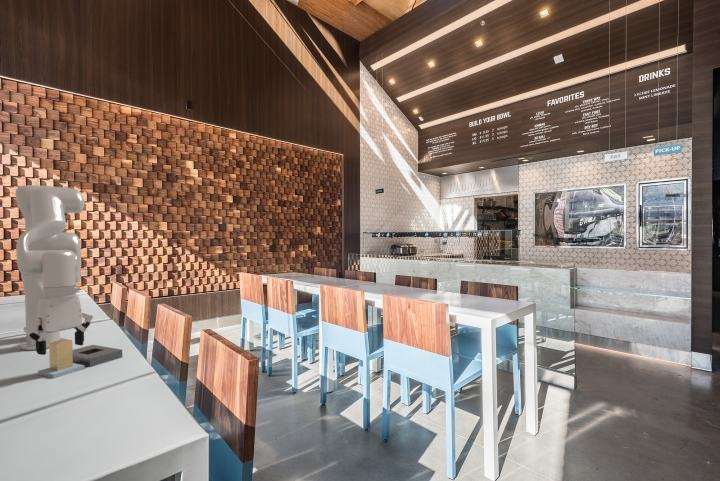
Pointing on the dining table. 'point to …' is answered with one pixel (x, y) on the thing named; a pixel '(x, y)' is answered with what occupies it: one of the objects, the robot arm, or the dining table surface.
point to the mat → (62, 372)
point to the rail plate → (95, 355)
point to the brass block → (60, 354)
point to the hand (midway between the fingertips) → (61, 349)
